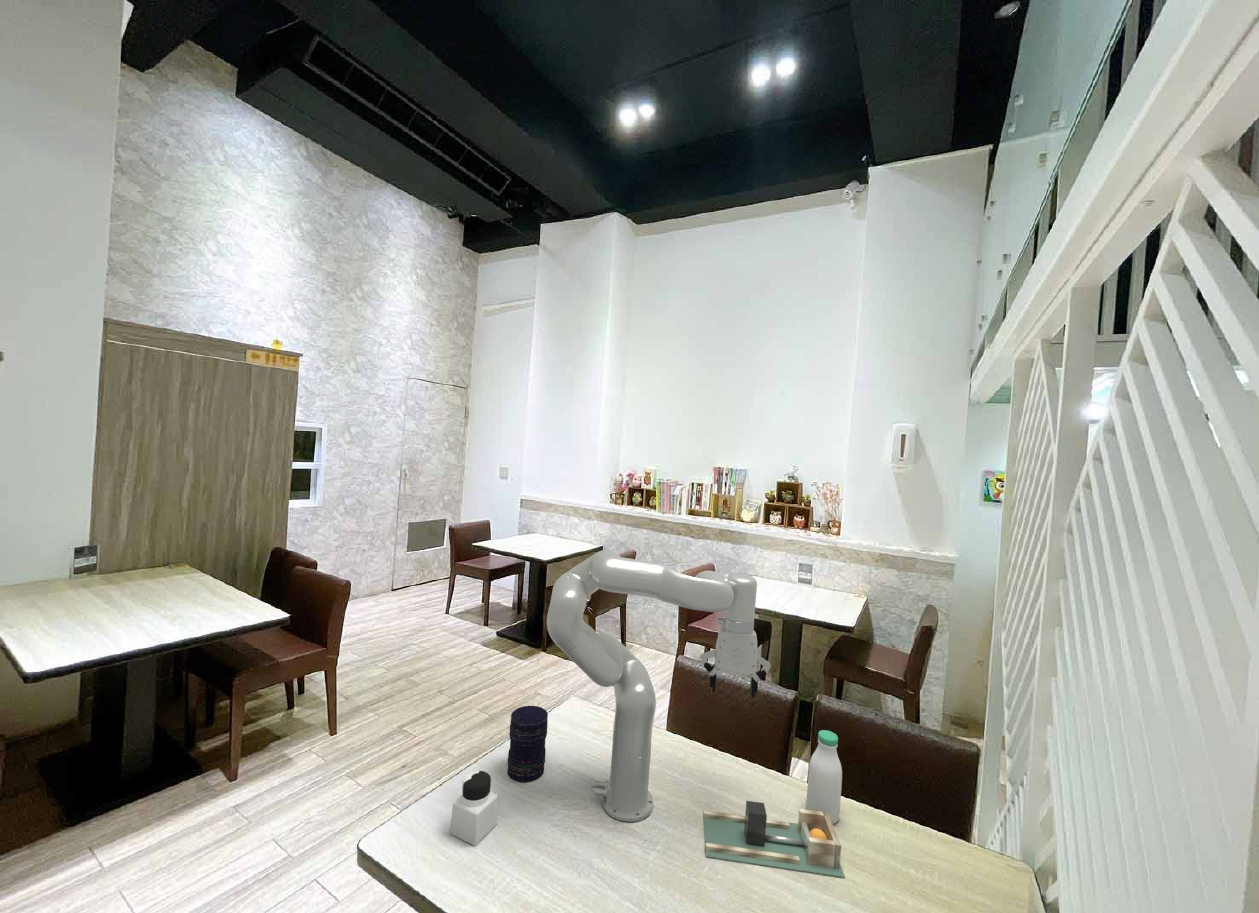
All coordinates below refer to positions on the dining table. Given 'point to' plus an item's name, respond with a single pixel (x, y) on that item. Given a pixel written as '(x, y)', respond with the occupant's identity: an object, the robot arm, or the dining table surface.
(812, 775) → the milk bottle
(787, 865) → the mat
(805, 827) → the kicker
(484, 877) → the dining table surface
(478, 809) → the medicine bottle
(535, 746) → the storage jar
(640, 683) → the robot arm
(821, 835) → the ball
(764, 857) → the rails
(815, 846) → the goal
